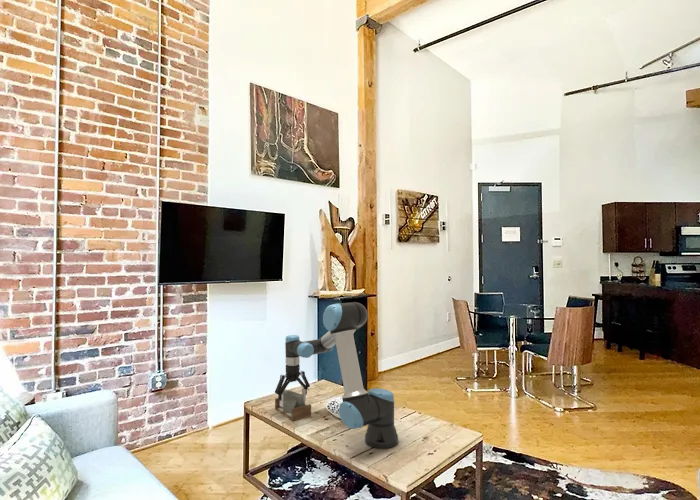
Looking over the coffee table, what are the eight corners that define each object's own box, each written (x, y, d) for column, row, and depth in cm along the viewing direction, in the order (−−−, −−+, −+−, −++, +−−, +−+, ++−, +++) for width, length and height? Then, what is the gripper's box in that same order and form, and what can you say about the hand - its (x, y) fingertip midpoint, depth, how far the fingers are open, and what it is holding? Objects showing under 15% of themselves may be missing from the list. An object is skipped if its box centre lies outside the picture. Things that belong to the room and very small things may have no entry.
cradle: (311, 416, 217) (311, 404, 217) (292, 421, 210) (292, 409, 210) (292, 405, 233) (292, 394, 233) (275, 409, 227) (275, 398, 227)
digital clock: (308, 413, 218) (308, 393, 219) (294, 417, 213) (293, 396, 213) (292, 404, 231) (292, 385, 231) (278, 408, 225) (278, 389, 225)
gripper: (308, 359, 232) (309, 396, 232) (268, 366, 218) (268, 406, 217) (315, 361, 226) (316, 400, 226) (274, 369, 212) (274, 410, 211)
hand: (292, 403), depth 221 cm, fingers open, 13 cm apart
